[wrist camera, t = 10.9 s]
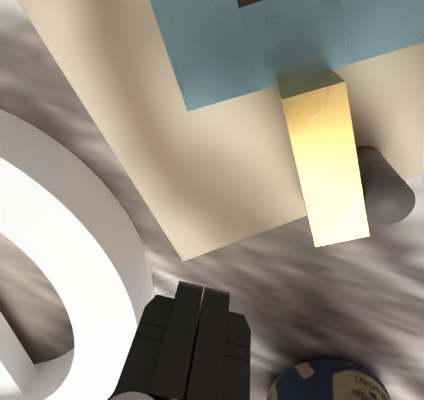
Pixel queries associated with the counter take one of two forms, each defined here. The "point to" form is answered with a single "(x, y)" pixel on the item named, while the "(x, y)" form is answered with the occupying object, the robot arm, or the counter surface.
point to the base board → (224, 127)
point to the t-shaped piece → (293, 80)
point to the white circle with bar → (70, 265)
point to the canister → (327, 382)
